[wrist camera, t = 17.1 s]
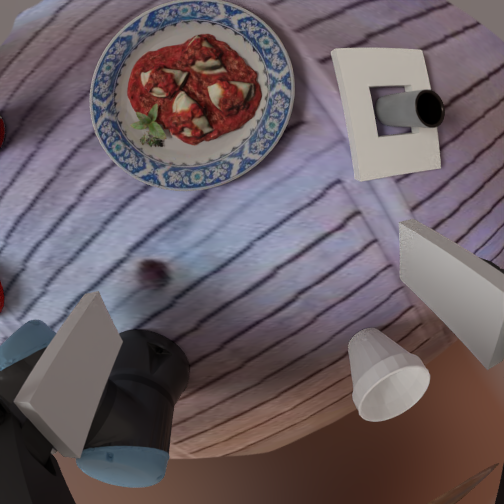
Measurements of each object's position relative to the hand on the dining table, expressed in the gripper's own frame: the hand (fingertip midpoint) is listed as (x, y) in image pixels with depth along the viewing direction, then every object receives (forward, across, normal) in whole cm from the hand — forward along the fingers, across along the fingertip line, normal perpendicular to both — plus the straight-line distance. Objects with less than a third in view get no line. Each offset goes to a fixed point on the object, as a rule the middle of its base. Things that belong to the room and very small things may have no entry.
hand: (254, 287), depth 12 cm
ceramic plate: (+29, +3, -13) cm, 32 cm away
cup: (+29, -16, +32) cm, 46 cm away
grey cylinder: (+29, -23, -6) cm, 37 cm away
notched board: (+29, -23, -6) cm, 37 cm away
